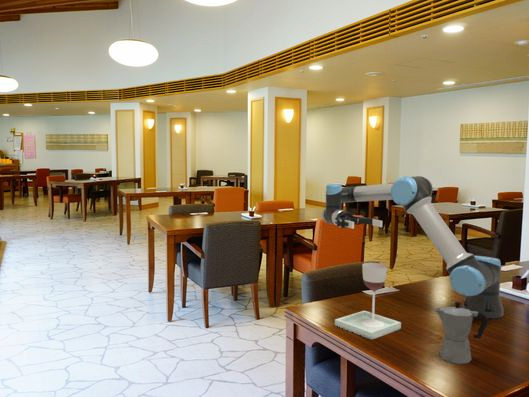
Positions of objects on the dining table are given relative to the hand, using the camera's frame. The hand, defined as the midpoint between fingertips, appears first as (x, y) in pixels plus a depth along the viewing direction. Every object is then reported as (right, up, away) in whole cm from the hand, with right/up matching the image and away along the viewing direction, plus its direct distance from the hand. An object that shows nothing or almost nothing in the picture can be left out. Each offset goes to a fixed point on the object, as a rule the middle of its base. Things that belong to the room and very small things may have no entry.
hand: (367, 224), depth 193 cm
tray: (-5, -37, -22) cm, 43 cm away
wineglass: (-3, -36, -21) cm, 41 cm away
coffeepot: (+18, -39, -49) cm, 65 cm away
